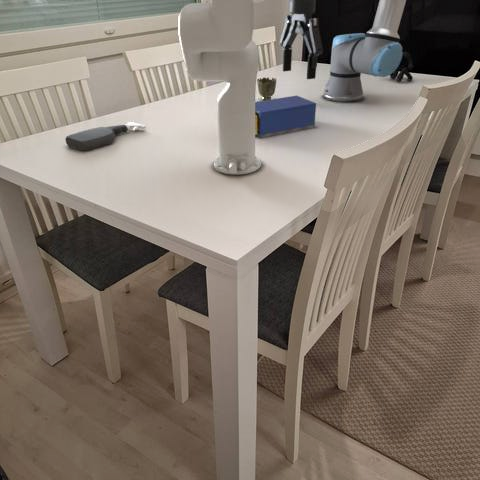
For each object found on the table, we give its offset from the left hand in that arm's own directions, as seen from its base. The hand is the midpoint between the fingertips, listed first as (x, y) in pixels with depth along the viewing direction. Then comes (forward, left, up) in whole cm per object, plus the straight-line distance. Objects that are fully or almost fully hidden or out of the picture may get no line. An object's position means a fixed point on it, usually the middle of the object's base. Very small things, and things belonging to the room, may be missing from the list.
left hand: (238, 85), depth 133 cm
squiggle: (+69, -74, -15) cm, 102 cm away
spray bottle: (0, +41, -15) cm, 44 cm away
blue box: (+6, -13, -15) cm, 21 cm away
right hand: (+9, -19, +1) cm, 21 cm away
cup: (+40, -12, -15) cm, 44 cm away
